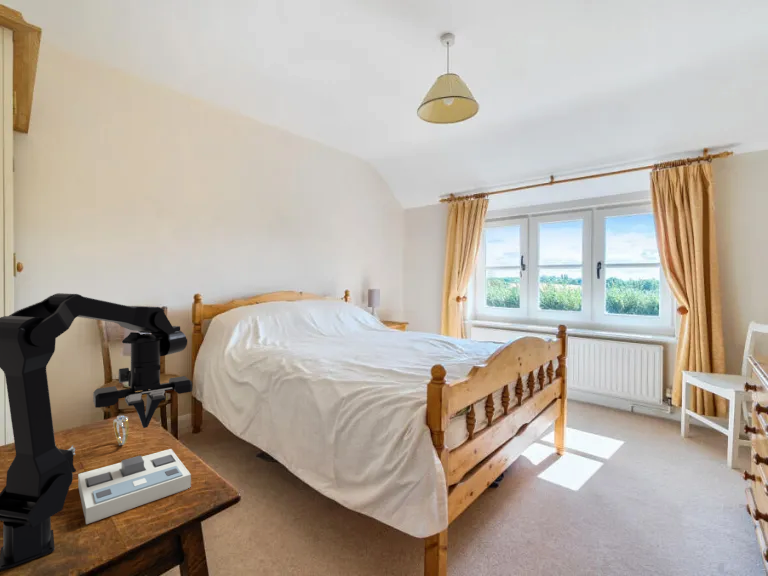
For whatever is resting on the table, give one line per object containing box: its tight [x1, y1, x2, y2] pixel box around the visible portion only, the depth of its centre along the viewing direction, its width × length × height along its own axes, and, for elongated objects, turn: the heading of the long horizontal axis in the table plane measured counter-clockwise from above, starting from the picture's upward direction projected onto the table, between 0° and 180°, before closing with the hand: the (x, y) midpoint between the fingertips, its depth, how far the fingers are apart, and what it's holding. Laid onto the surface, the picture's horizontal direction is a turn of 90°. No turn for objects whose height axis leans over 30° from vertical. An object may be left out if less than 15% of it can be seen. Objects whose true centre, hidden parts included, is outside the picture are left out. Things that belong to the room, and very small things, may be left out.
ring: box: [112, 414, 130, 446], centre depth 100 cm, size 7×3×8 cm, turn 48°
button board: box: [77, 448, 192, 525], centre depth 81 cm, size 16×18×3 cm
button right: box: [153, 455, 174, 467], centre depth 87 cm, size 4×4×3 cm
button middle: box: [121, 454, 144, 477], centre depth 82 cm, size 4×4×3 cm
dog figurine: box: [67, 444, 76, 456], centre depth 92 cm, size 3×6×4 cm
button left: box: [87, 473, 111, 488], centre depth 78 cm, size 4×4×3 cm
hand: (145, 427), depth 85 cm, fingers closed
